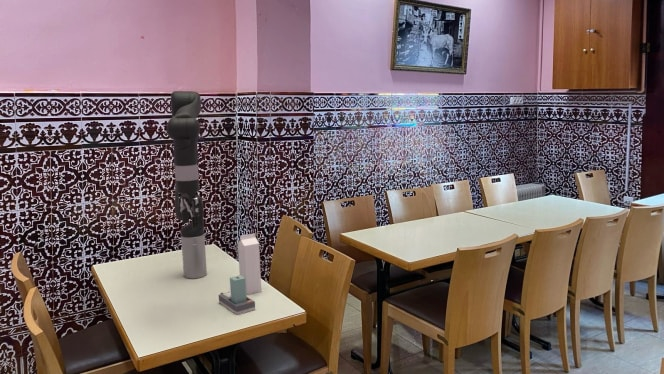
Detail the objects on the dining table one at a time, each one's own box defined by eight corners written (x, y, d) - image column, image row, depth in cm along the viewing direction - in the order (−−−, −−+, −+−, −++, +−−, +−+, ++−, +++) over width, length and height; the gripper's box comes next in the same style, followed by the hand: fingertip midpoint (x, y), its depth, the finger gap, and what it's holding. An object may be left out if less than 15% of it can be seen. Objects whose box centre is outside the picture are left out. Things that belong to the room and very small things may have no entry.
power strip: (213, 298, 203) (212, 290, 202) (230, 294, 207) (229, 285, 207) (236, 314, 188) (236, 305, 187) (255, 309, 192) (254, 300, 192)
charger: (231, 304, 194) (229, 277, 193) (241, 302, 197) (240, 274, 195) (236, 308, 191) (234, 280, 189) (246, 305, 193) (245, 277, 191)
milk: (261, 291, 209) (259, 235, 205) (246, 295, 206) (243, 237, 202) (254, 286, 214) (252, 231, 210) (239, 290, 211) (237, 234, 207)
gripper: (206, 179, 182) (209, 227, 185) (189, 174, 194) (192, 219, 197) (184, 182, 178) (188, 231, 181) (168, 176, 189) (172, 223, 192)
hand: (190, 225), depth 189 cm, fingers open, 8 cm apart
